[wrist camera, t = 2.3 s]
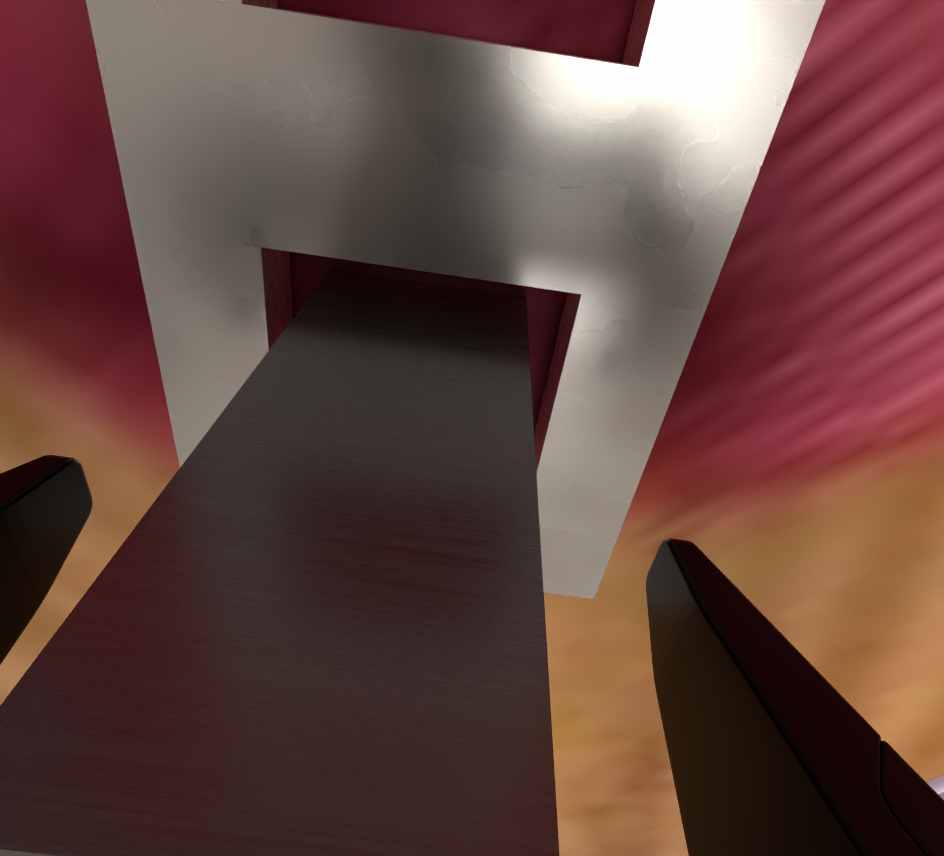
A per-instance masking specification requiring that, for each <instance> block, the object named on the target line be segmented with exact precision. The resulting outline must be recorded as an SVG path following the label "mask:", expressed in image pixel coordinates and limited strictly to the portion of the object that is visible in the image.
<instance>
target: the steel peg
mask: <svg viewBox="0 0 944 856" xmlns="http://www.w3.org/2000/svg"><path fill="white" fill-rule="evenodd" d="M0 856H559V842H558V825H557V808H556V792H555V775H554V758H553V742H552V725H551V708H550V691H549V675H548V658H547V641H546V625H545V608H544V591H543V574H542V558H541V541H540V524H539V508H538V491H537V474H536V457H535V441H534V424H533V407H532V390H531V374H530V357H529V340H528V324H527V307H526V298H525V297H518V296H511V295H505V294H498V293H491V292H484V291H477V290H470V289H464V288H457V287H450V286H443V285H436V284H429V283H423V282H416V281H409V280H402V279H395V278H389V277H382V276H375V275H368V274H361V273H354V272H348V271H341V270H334V269H330V270H329V271H328V273H327V274H326V275H325V277H324V278H323V279H322V281H321V282H320V283H319V285H318V286H317V287H316V289H315V290H314V291H313V293H312V294H311V295H310V297H309V298H308V299H307V301H306V302H305V303H304V304H303V306H302V307H301V308H300V310H299V311H298V312H297V314H296V315H295V316H294V318H293V319H292V320H291V322H290V323H289V324H288V326H287V327H286V328H285V330H284V331H283V332H282V334H281V335H280V336H279V338H278V339H277V340H276V342H275V343H274V344H273V346H272V347H271V348H270V350H269V351H268V352H267V353H266V355H265V356H264V357H263V359H262V360H261V361H260V363H259V364H258V365H257V367H256V368H255V369H254V371H253V372H252V373H251V375H250V376H249V377H248V379H247V380H246V381H245V383H244V384H243V385H242V387H241V388H240V389H239V391H238V392H237V393H236V395H235V396H234V397H233V398H232V400H231V401H230V402H229V404H228V405H227V406H226V408H225V409H224V410H223V412H222V413H221V414H220V416H219V417H218V418H217V420H216V421H215V422H214V424H213V425H212V426H211V428H210V429H209V430H208V432H207V433H206V434H205V436H204V437H203V438H202V440H201V441H200V442H199V444H198V445H197V446H196V447H195V449H194V450H193V451H192V453H191V454H190V455H189V457H188V458H187V459H186V461H185V462H184V463H183V465H182V466H181V467H180V469H179V470H178V471H177V473H176V474H175V475H174V477H173V478H172V479H171V481H170V482H169V483H168V485H167V486H166V487H165V489H164V490H163V491H162V493H161V494H160V495H159V496H158V498H157V499H156V500H155V502H154V503H153V504H152V506H151V507H150V508H149V510H148V511H147V512H146V514H145V515H144V516H143V518H142V519H141V520H140V522H139V523H138V524H137V526H136V527H135V528H134V530H133V531H132V532H131V534H130V535H129V536H128V538H127V539H126V540H125V541H124V543H123V544H122V545H121V547H120V548H119V549H118V551H117V552H116V553H115V555H114V556H113V557H112V559H111V560H110V561H109V563H108V564H107V565H106V567H105V568H104V569H103V571H102V572H101V573H100V575H99V576H98V577H97V579H96V580H95V581H94V583H93V584H92V585H91V587H90V588H89V589H88V590H87V592H86V593H85V594H84V596H83V597H82V598H81V600H80V601H79V602H78V604H77V605H76V606H75V608H74V609H73V610H72V612H71V613H70V614H69V616H68V617H67V618H66V620H65V621H64V622H63V624H62V625H61V626H60V628H59V629H58V630H57V632H56V633H55V634H54V636H53V637H52V638H51V639H50V641H49V642H48V643H47V645H46V646H45V647H44V649H43V650H42V651H41V653H40V654H39V655H38V657H37V658H36V659H35V661H34V662H33V663H32V665H31V666H30V667H29V669H28V670H27V671H26V673H25V674H24V675H23V677H22V678H21V679H20V681H19V682H18V683H17V684H16V686H15V687H14V688H13V690H12V691H11V692H10V694H9V695H8V696H7V698H6V699H5V700H4V702H3V703H2V704H1V706H0Z"/></svg>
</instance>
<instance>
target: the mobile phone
mask: <svg viewBox="0 0 944 856" xmlns="http://www.w3.org/2000/svg"><path fill="white" fill-rule="evenodd" d="M926 783H927V784H928V785H929V786H930V787H931V788H932V789H933V790H934V791H935V792H936V793H937V794H938V795H939V796H940V797H941V798H942V799H943V800H944V776H941V777H937V778H934V779H932V780H930V781H928V782H926Z"/></svg>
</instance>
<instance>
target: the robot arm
mask: <svg viewBox="0 0 944 856" xmlns="http://www.w3.org/2000/svg"><path fill="white" fill-rule="evenodd" d="M91 509H92V496H91V493H90V490H89V487H88V483H87V480H86V477H85V474H84V471H83V468H82V465H81V463H80V462H79V461H78V460H77V459H74V458H70V457H63V456H55V455H46V456H43V457H40V458H38V459H35V460H33V461H30V462H28V463H25V464H23V465H20V466H18V467H16V468H13V469H11V470H8V471H6V472H3V473H1V474H0V665H1V663H2V662H3V660H4V659H5V657H6V656H7V654H8V653H9V651H10V650H11V648H12V647H13V645H14V644H15V643H16V641H17V640H18V638H19V637H20V635H21V634H22V632H23V631H24V629H25V628H26V626H27V625H28V623H29V622H30V620H31V619H32V617H33V616H34V614H35V613H36V611H37V610H38V608H39V607H40V605H41V603H42V602H43V600H44V598H45V597H46V595H47V593H48V592H49V590H50V588H51V586H52V584H53V583H54V581H55V579H56V577H57V575H58V573H59V571H60V569H61V568H62V566H63V564H64V562H65V560H66V558H67V556H68V554H69V553H70V551H71V549H72V547H73V545H74V543H75V541H76V540H77V538H78V536H79V534H80V532H81V530H82V528H83V526H84V525H85V523H86V521H87V519H88V517H89V515H90V513H91ZM646 593H647V605H648V617H649V629H650V641H651V652H652V664H653V673H654V681H655V687H656V693H657V698H658V703H659V708H660V713H661V718H662V723H663V728H664V733H665V738H666V743H667V748H668V754H669V759H670V764H671V769H672V774H673V779H674V784H675V789H676V794H677V799H678V804H679V809H680V814H681V819H682V824H683V829H684V834H685V839H686V844H687V849H688V854H689V856H944V800H943V799H942V798H941V797H940V796H939V795H938V794H937V793H936V792H935V791H934V790H933V789H932V788H931V787H930V786H929V785H928V784H927V783H926V782H925V781H924V780H923V779H922V778H921V777H920V776H919V775H918V774H917V773H916V772H915V771H914V770H913V769H912V768H911V767H910V766H909V765H908V763H907V762H906V761H905V760H904V759H903V758H902V757H901V756H900V755H899V754H898V753H897V752H896V751H895V750H894V749H893V748H892V747H891V746H890V745H889V744H888V743H887V742H886V741H881V737H880V735H879V734H878V733H877V732H876V731H875V730H874V729H873V728H872V727H871V726H870V725H869V724H868V722H867V721H866V720H865V719H864V718H863V717H862V716H861V715H860V714H859V713H858V712H857V711H856V710H855V709H854V708H853V707H852V706H851V705H850V704H849V703H848V702H847V701H846V700H845V699H844V698H843V697H842V696H841V695H840V694H839V693H838V692H837V691H836V689H835V688H834V687H833V686H832V685H831V684H830V683H829V682H828V681H827V680H826V679H825V678H824V677H823V676H822V675H821V674H820V673H819V672H818V671H817V670H816V669H815V668H814V667H813V666H812V665H811V664H810V663H809V662H808V661H807V660H806V659H805V657H804V656H803V655H802V654H801V653H800V652H799V651H798V650H797V649H796V648H795V647H794V646H793V645H792V644H791V643H790V642H789V641H788V640H787V639H786V638H785V637H784V636H783V635H782V634H781V633H780V632H779V631H778V630H777V629H776V628H775V627H774V626H773V624H772V623H771V622H770V621H769V620H768V619H767V618H766V617H765V616H764V615H763V614H762V613H761V612H760V611H759V610H758V609H757V608H756V607H755V606H754V605H753V604H752V603H751V602H750V601H749V600H748V599H747V598H746V597H745V596H744V595H743V594H742V592H741V591H740V590H739V589H738V588H737V587H736V586H735V585H734V584H733V583H732V582H731V581H730V580H729V579H728V578H727V577H726V576H725V575H724V574H723V573H722V572H721V571H720V570H719V569H718V568H717V567H716V566H715V565H714V564H713V563H712V562H711V561H710V559H709V558H708V557H707V556H706V555H705V554H704V553H703V552H702V551H701V550H700V549H699V548H698V547H697V546H696V545H695V544H694V543H692V542H690V541H685V540H678V539H671V538H669V539H665V540H664V541H663V542H662V543H661V545H660V547H659V549H658V552H657V554H656V556H655V558H654V561H653V563H652V565H651V567H650V569H649V572H648V575H647V580H646Z"/></svg>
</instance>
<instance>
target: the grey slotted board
mask: <svg viewBox="0 0 944 856" xmlns="http://www.w3.org/2000/svg"><path fill="white" fill-rule="evenodd" d="M824 3H825V0H637V1H636V5H635V9H634V13H633V17H632V22H631V26H630V30H629V34H628V39H627V43H626V47H625V51H624V56H623V60H622V63H621V62H615V61H609V60H603V59H596V58H590V57H584V56H578V55H571V54H565V53H559V52H553V51H546V50H540V49H534V48H528V47H521V46H515V45H509V44H502V43H496V42H490V41H484V40H477V39H471V38H465V37H459V36H452V35H446V34H440V33H434V32H427V31H421V30H415V29H408V28H402V27H396V26H390V25H383V24H377V23H371V22H365V21H358V20H352V19H346V18H340V17H333V16H327V15H321V14H315V13H308V12H302V11H296V10H289V9H283V8H278V4H277V0H86V4H87V9H88V14H89V18H90V23H91V28H92V33H93V38H94V43H95V48H96V53H97V58H98V63H99V68H100V73H101V78H102V83H103V88H104V93H105V98H106V103H107V108H108V113H109V118H110V123H111V128H112V133H113V138H114V143H115V148H116V153H117V158H118V163H119V168H120V173H121V178H122V183H123V188H124V193H125V198H126V202H127V207H128V212H129V217H130V222H131V227H132V232H133V237H134V242H135V247H136V252H137V257H138V262H139V267H140V272H141V277H142V282H143V287H144V292H145V297H146V302H147V307H148V312H149V317H150V322H151V327H152V332H153V337H154V342H155V347H156V352H157V357H158V362H159V367H160V372H161V377H162V381H163V386H164V391H165V396H166V401H167V406H168V411H169V416H170V421H171V426H172V431H173V436H174V441H175V446H176V451H177V456H178V461H179V466H180V467H181V466H182V465H183V463H184V462H185V461H186V459H187V458H188V457H189V455H190V454H191V453H192V451H193V450H194V449H195V447H196V446H197V445H198V444H199V442H200V441H201V440H202V438H203V437H204V436H205V434H206V433H207V432H208V430H209V429H210V428H211V426H212V425H213V424H214V422H215V421H216V420H217V418H218V417H219V416H220V414H221V413H222V412H223V410H224V409H225V408H226V406H227V405H228V404H229V402H230V401H231V400H232V398H233V397H234V396H235V395H236V393H237V392H238V391H239V389H240V388H241V387H242V385H243V384H244V383H245V381H246V380H247V379H248V377H249V376H250V375H251V373H252V372H253V371H254V369H255V368H256V367H257V365H258V364H259V363H260V361H261V360H262V359H263V357H264V356H265V355H266V353H267V352H268V351H269V350H270V348H271V347H272V346H273V344H274V343H275V342H276V340H277V339H278V338H279V336H280V335H281V334H282V332H283V331H284V330H285V328H286V327H287V326H288V324H289V323H290V322H291V320H292V319H293V310H292V290H291V269H290V252H297V253H303V254H310V255H317V256H324V257H331V258H337V259H344V260H351V261H358V262H365V263H371V264H378V265H385V266H392V267H399V268H405V269H412V270H419V271H426V272H433V273H439V274H446V275H453V276H460V277H467V278H473V279H480V280H487V281H494V282H501V283H507V284H514V285H521V286H528V287H535V288H541V289H548V290H555V291H562V292H567V296H566V301H565V305H564V309H563V313H562V318H561V322H560V326H559V330H558V334H557V339H556V343H555V347H554V351H553V356H552V360H551V364H550V368H549V372H548V377H547V381H546V385H545V389H544V394H543V398H542V402H541V406H540V411H539V415H538V419H537V423H536V427H535V432H534V441H535V457H536V474H537V491H538V508H539V524H540V541H541V558H542V574H543V591H544V593H551V594H559V595H566V596H574V597H582V598H589V599H594V598H595V595H596V592H597V590H598V587H599V585H600V582H601V579H602V577H603V574H604V572H605V569H606V567H607V564H608V561H609V559H610V556H611V554H612V551H613V548H614V546H615V543H616V541H617V538H618V535H619V533H620V530H621V528H622V525H623V523H624V520H625V517H626V515H627V512H628V510H629V507H630V504H631V502H632V499H633V497H634V494H635V492H636V489H637V486H638V484H639V481H640V479H641V476H642V473H643V471H644V468H645V466H646V463H647V461H648V458H649V455H650V453H651V450H652V448H653V445H654V442H655V440H656V437H657V435H658V432H659V429H660V427H661V424H662V422H663V419H664V417H665V414H666V411H667V409H668V406H669V404H670V401H671V398H672V396H673V393H674V391H675V388H676V386H677V383H678V380H679V378H680V375H681V373H682V370H683V367H684V365H685V362H686V360H687V357H688V355H689V352H690V349H691V347H692V344H693V342H694V339H695V336H696V334H697V331H698V329H699V326H700V323H701V321H702V318H703V316H704V313H705V311H706V308H707V305H708V303H709V300H710V298H711V295H712V292H713V290H714V287H715V285H716V282H717V280H718V277H719V274H720V272H721V269H722V267H723V264H724V261H725V259H726V256H727V254H728V251H729V249H730V246H731V243H732V241H733V238H734V236H735V233H736V230H737V228H738V225H739V223H740V220H741V217H742V215H743V212H744V210H745V207H746V205H747V202H748V199H749V197H750V194H751V192H752V189H753V186H754V184H755V181H756V179H757V176H758V174H759V171H760V168H761V166H762V163H763V161H764V158H765V155H766V153H767V150H768V148H769V145H770V143H771V140H772V137H773V135H774V132H775V130H776V127H777V124H778V122H779V119H780V117H781V114H782V111H783V109H784V106H785V104H786V101H787V99H788V96H789V93H790V91H791V88H792V86H793V83H794V80H795V78H796V75H797V73H798V70H799V68H800V65H801V62H802V60H803V57H804V55H805V52H806V49H807V47H808V44H809V42H810V39H811V37H812V34H813V31H814V29H815V26H816V24H817V21H818V18H819V16H820V13H821V11H822V8H823V5H824Z"/></svg>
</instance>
